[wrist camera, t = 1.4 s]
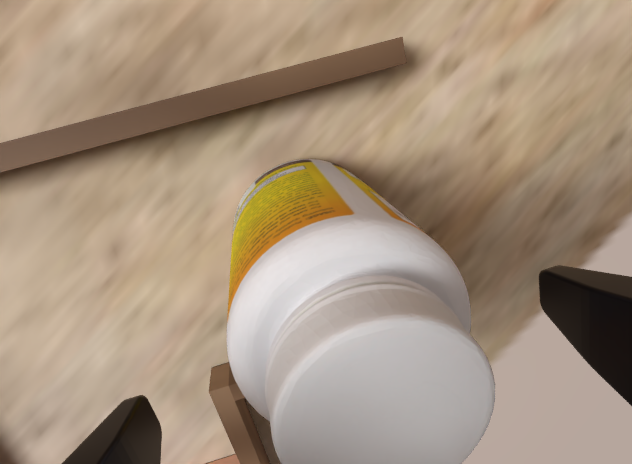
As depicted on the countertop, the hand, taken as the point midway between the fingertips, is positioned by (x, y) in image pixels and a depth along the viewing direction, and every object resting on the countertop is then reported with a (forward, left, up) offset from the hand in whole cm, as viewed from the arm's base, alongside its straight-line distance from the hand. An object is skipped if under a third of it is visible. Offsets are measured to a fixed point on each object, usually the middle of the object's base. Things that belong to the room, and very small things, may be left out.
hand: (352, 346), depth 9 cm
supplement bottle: (0, 0, -8) cm, 8 cm away
